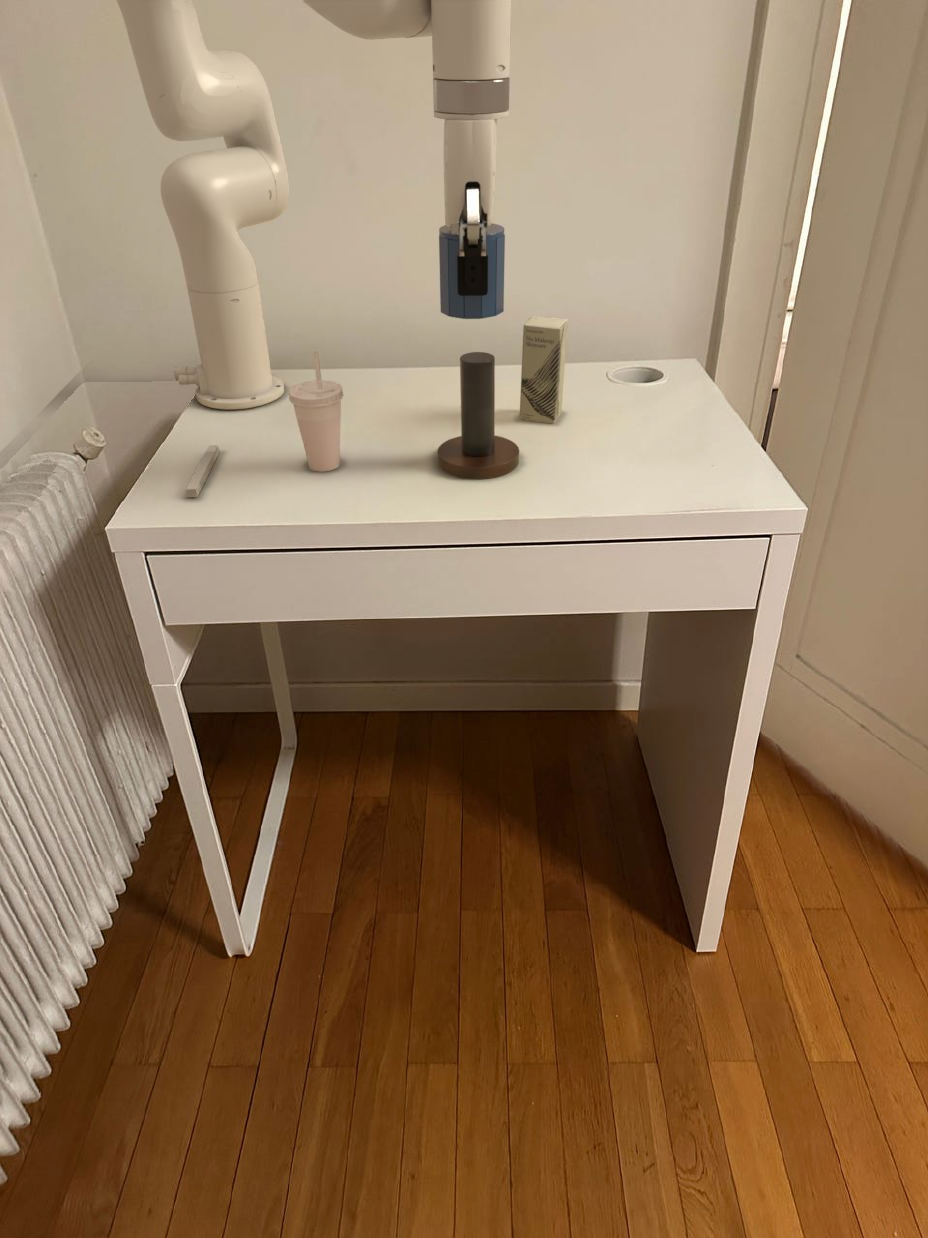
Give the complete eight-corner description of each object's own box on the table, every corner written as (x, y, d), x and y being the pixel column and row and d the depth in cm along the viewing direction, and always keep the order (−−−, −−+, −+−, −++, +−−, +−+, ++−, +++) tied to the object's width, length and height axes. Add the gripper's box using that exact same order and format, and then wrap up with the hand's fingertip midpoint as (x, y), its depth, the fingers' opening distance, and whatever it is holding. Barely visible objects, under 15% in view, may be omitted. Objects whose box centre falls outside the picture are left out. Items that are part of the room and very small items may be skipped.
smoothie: (341, 478, 108) (328, 362, 100) (290, 474, 109) (274, 360, 101) (356, 455, 113) (346, 344, 105) (308, 452, 114) (294, 342, 106)
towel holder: (437, 480, 107) (433, 373, 100) (438, 445, 115) (434, 344, 108) (521, 478, 107) (523, 370, 100) (516, 444, 115) (517, 342, 108)
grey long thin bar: (197, 497, 104) (195, 489, 103) (187, 497, 104) (185, 489, 103) (219, 452, 114) (217, 445, 114) (210, 452, 114) (208, 445, 114)
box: (518, 420, 122) (520, 324, 114) (527, 408, 125) (529, 314, 118) (556, 424, 120) (560, 327, 113) (564, 412, 124) (568, 317, 116)
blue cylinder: (440, 319, 98) (438, 236, 93) (440, 301, 104) (439, 221, 99) (504, 318, 98) (506, 235, 93) (501, 300, 104) (502, 221, 99)
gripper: (434, 91, 96) (438, 265, 106) (432, 109, 82) (437, 308, 92) (504, 90, 96) (501, 264, 106) (514, 108, 82) (510, 307, 92)
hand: (471, 283), depth 99 cm, fingers closed on blue cylinder, 7 cm apart
